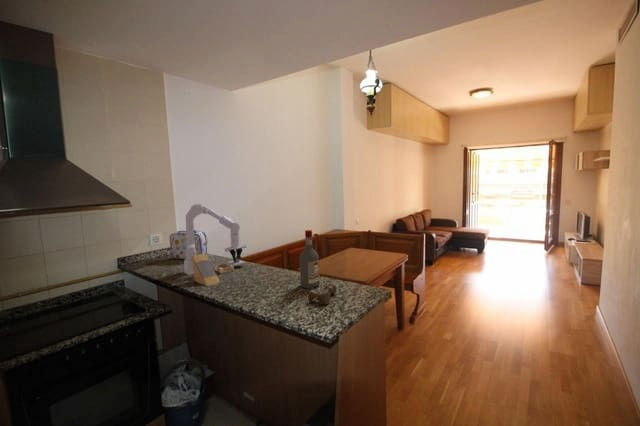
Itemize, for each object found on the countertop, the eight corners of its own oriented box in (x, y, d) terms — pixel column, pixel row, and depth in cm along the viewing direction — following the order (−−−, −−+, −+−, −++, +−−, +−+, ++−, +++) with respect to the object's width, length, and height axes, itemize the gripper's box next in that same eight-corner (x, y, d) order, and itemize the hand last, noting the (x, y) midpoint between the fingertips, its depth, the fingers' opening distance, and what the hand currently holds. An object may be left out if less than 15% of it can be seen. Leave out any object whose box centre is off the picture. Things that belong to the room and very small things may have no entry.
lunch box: (211, 257, 234) (209, 228, 232) (203, 260, 224) (201, 230, 222) (178, 256, 239) (175, 228, 236) (169, 260, 229) (167, 230, 226)
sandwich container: (206, 286, 170) (204, 260, 168) (193, 280, 180) (191, 255, 179) (220, 282, 176) (219, 256, 175) (207, 277, 187) (205, 252, 185)
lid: (227, 263, 208) (227, 258, 207) (238, 260, 213) (238, 256, 213) (234, 266, 200) (234, 261, 200) (245, 263, 206) (245, 258, 205)
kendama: (341, 295, 154) (321, 309, 136) (324, 292, 158) (303, 306, 141) (340, 283, 153) (321, 296, 136) (323, 281, 158) (302, 293, 141)
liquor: (298, 286, 167) (296, 231, 163) (308, 281, 174) (307, 228, 170) (311, 289, 161) (309, 232, 158) (321, 284, 168) (320, 230, 165)
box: (215, 270, 199) (215, 265, 199) (227, 267, 204) (226, 263, 204) (222, 273, 192) (221, 268, 191) (234, 271, 197) (233, 266, 197)
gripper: (227, 242, 197) (229, 263, 199) (248, 239, 207) (249, 259, 208) (222, 241, 202) (224, 261, 204) (242, 237, 212) (244, 257, 213)
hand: (236, 260), depth 206 cm, fingers closed on lid, 2 cm apart
